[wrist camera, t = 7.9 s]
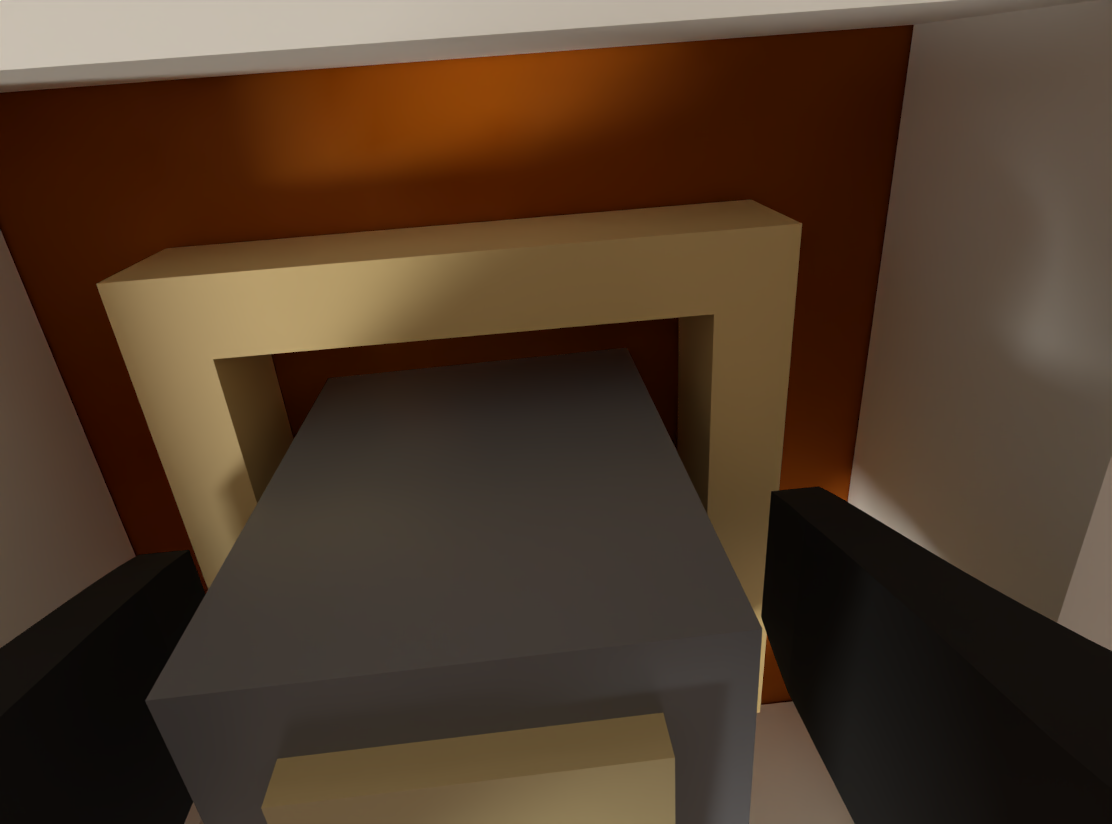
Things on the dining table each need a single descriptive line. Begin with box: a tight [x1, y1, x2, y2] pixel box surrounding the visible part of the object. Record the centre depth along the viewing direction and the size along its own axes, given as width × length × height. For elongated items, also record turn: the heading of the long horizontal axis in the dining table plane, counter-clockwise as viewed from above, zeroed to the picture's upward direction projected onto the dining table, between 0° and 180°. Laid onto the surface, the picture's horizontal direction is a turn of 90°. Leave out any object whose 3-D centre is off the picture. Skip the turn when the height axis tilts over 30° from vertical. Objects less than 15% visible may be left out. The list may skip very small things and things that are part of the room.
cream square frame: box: [0, 0, 1112, 824], centre depth 9 cm, size 14×14×4 cm
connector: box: [145, 348, 762, 824], centre depth 9 cm, size 4×4×6 cm
